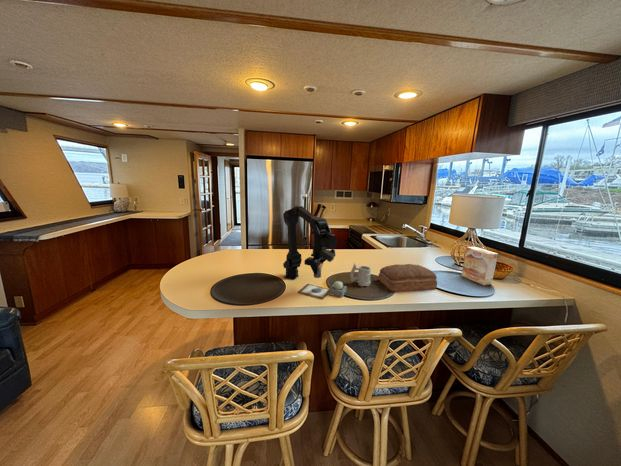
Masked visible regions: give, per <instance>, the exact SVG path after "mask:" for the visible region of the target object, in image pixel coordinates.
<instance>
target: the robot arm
mask: <svg viewBox="0 0 621 466" xmlns="http://www.w3.org/2000/svg"><path fill="white" fill-rule="evenodd" d="M299 217H300V218H302V219H303V220H304V221H305V222H306V223H308V224H309V227H310V228H311V230H312V231H311V232H310V234H311V235H313V237H312V238H313V239H312V245H311V246H310V248H311V249H312V253H311V254H310V256H309V257H307V258H305V259H304V261H303V262H304V265H306V266H308V267H309V266H310V268H311V270H312V273H313V276H314V275H317V271H318V266H319V265H320V264H321V263H322V267H323V264H324V263H325V262H326V261H327V262H329V263H331V262H332V261H333V260H334V259H335V257H336V250H335V249H336V248H337V246H338V243H339V242H338V238H336V237H335V236H336V235H335V234H334V233H332V230H331V228H330V226H329V223H328V220H327V219H325V218H323V217H320V216H316V215H314V214H313V213H312V212H310V211H309V210H307V209H306V208H305V207H304V206H303V205H299V206H298V205H296V206H294V207H292V208H290V209H288V210H285V211H284V212H283V214H282V218H283V222H284V223H285V225H286V227H287V228H286V229H287V243H288V252H287V253H286V258H285V259H286V260H285V261H284V262H283V263H282V264H283V268H284V269H285V275H284V276H283V278H285V279H288V280H296V279H298V277H299V270H298V268H300V267H301V264H302V254H301V253H300V252H299V251H298V238H297V237H298V236H297V225H298V222H299V220H300V219H299ZM319 262H320V263H319ZM322 267H321V269H322Z"/></svg>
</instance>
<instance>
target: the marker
mask: <svg viewBox="0 0 621 466" xmlns="http://www.w3.org/2000/svg"><path fill="white" fill-rule="evenodd" d="M319 263H320V262H319ZM321 267H323V265H322V263H321V264H320V265H319V266H318V271H317V275H314V274H313V278H314V279H320V278H321V277H322V268H321Z"/></svg>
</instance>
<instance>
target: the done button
mask: <svg viewBox="0 0 621 466" xmlns="http://www.w3.org/2000/svg"><path fill="white" fill-rule="evenodd" d="M333 284H334V289H337V290H342V288H343V286H344V283H343V282H342V281H340V280H337V281H334V283H333Z"/></svg>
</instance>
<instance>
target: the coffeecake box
mask: <svg viewBox="0 0 621 466" xmlns="http://www.w3.org/2000/svg"><path fill="white" fill-rule="evenodd" d="M465 250H466V251H465V255H464V260H463V266H462V271H461V275H460V276H461V277H464V278H465V279H468V280H470V281H473V282H475V283H478V284H479V285H482V286H488V285H492V284H493V279H494V275H495V269H496V265H497V261H498V256H499V253H498V252H493V251H490V250H489V249H485V248H481V247H477V246H466V249H465Z"/></svg>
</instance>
